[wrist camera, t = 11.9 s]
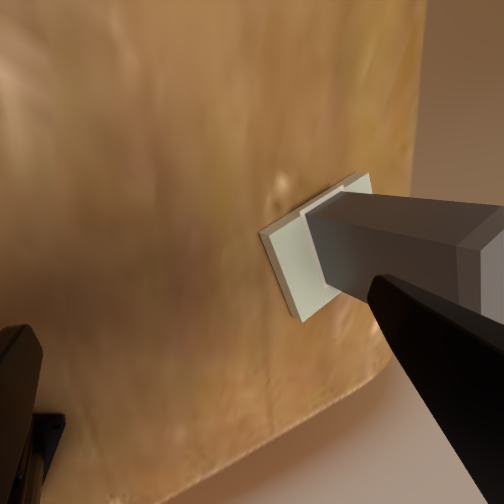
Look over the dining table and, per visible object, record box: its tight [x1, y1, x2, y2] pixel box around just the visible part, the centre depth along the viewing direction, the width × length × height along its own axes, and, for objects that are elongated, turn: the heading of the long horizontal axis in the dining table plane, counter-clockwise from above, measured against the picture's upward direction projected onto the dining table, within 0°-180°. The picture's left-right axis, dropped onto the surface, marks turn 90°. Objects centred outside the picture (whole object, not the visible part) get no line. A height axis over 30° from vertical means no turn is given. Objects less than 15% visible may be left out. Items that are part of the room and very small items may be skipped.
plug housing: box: [305, 191, 504, 325], centre depth 20 cm, size 4×7×12 cm, turn 24°
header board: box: [259, 173, 372, 323], centre depth 25 cm, size 11×9×4 cm
